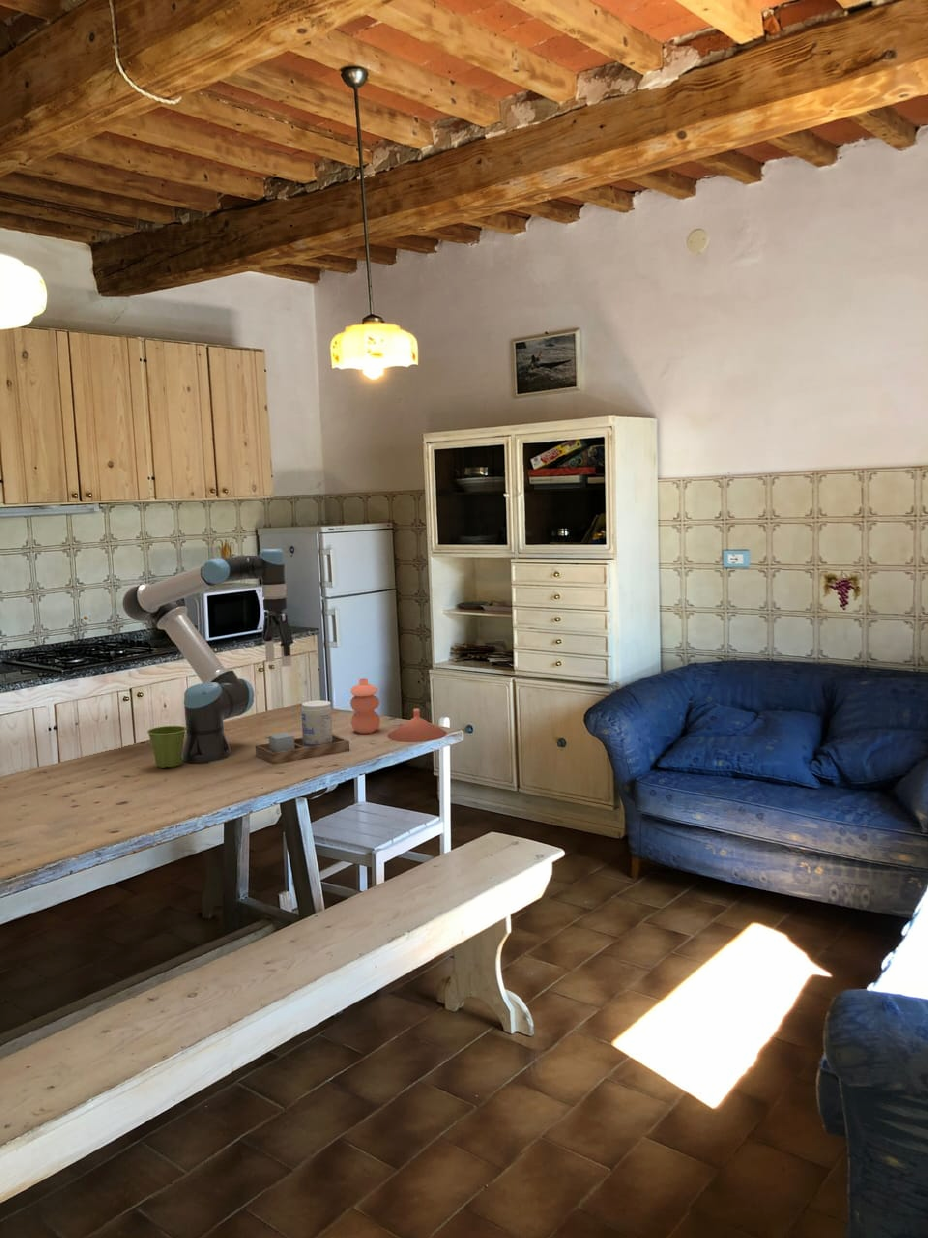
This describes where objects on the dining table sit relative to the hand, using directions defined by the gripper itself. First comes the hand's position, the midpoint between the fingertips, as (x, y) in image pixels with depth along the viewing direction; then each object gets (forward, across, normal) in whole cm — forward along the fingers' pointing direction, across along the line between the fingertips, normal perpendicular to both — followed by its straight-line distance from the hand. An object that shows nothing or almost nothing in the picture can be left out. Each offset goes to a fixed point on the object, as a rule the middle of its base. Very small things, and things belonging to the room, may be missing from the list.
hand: (278, 663), depth 321 cm
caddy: (+29, -6, -4) cm, 30 cm away
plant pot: (+29, +7, +35) cm, 46 cm away
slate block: (+28, -6, +3) cm, 29 cm away
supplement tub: (+28, -6, -10) cm, 30 cm away
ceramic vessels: (+29, -3, -41) cm, 50 cm away
